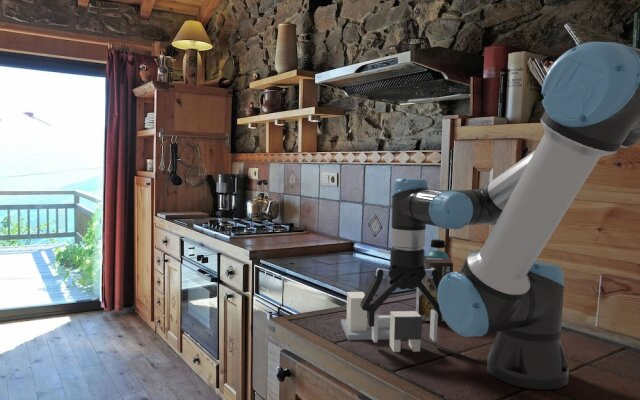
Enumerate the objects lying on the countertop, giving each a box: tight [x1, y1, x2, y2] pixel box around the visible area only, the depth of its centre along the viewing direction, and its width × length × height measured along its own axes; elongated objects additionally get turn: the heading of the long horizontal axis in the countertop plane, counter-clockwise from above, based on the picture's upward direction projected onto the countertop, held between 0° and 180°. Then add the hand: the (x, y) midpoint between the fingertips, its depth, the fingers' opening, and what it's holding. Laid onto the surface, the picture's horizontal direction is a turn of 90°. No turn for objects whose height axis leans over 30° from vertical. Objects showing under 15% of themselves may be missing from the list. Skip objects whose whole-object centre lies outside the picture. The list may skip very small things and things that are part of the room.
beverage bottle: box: [426, 239, 449, 258], centre depth 147 cm, size 6×7×20 cm
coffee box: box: [415, 257, 454, 322], centre depth 137 cm, size 9×6×16 cm
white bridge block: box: [388, 310, 423, 353], centre depth 113 cm, size 6×5×8 cm
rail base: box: [340, 291, 390, 341], centre depth 125 cm, size 12×16×9 cm
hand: (403, 340), depth 114 cm, fingers open, 13 cm apart
